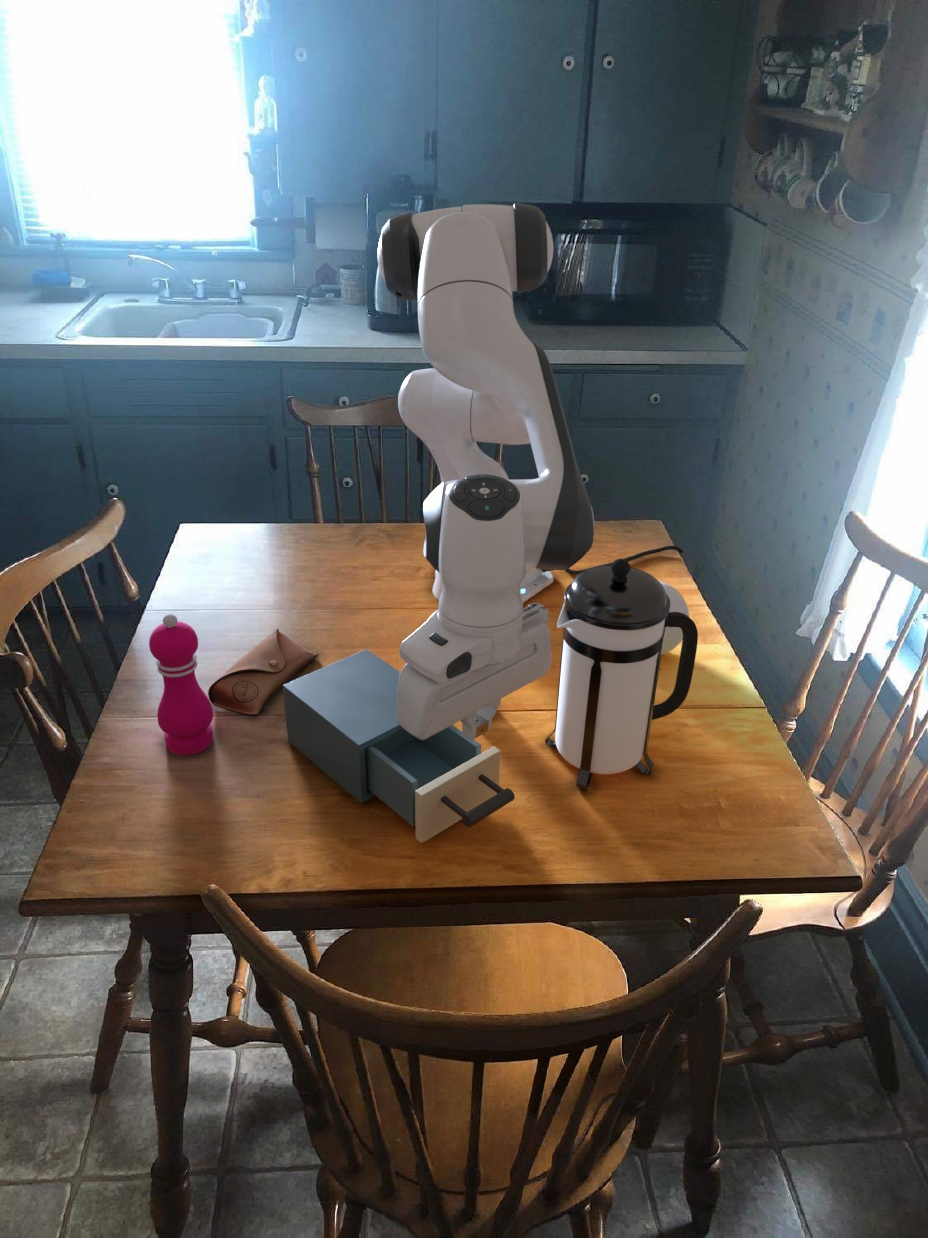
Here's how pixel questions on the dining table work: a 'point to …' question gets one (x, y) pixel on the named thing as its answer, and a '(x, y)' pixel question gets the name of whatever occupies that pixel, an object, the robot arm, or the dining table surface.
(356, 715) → the cabinet
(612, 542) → the dining table surface
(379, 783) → the drawer
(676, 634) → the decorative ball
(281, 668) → the sunglasses case
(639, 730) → the coffee press
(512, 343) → the robot arm
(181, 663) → the pepper mill
